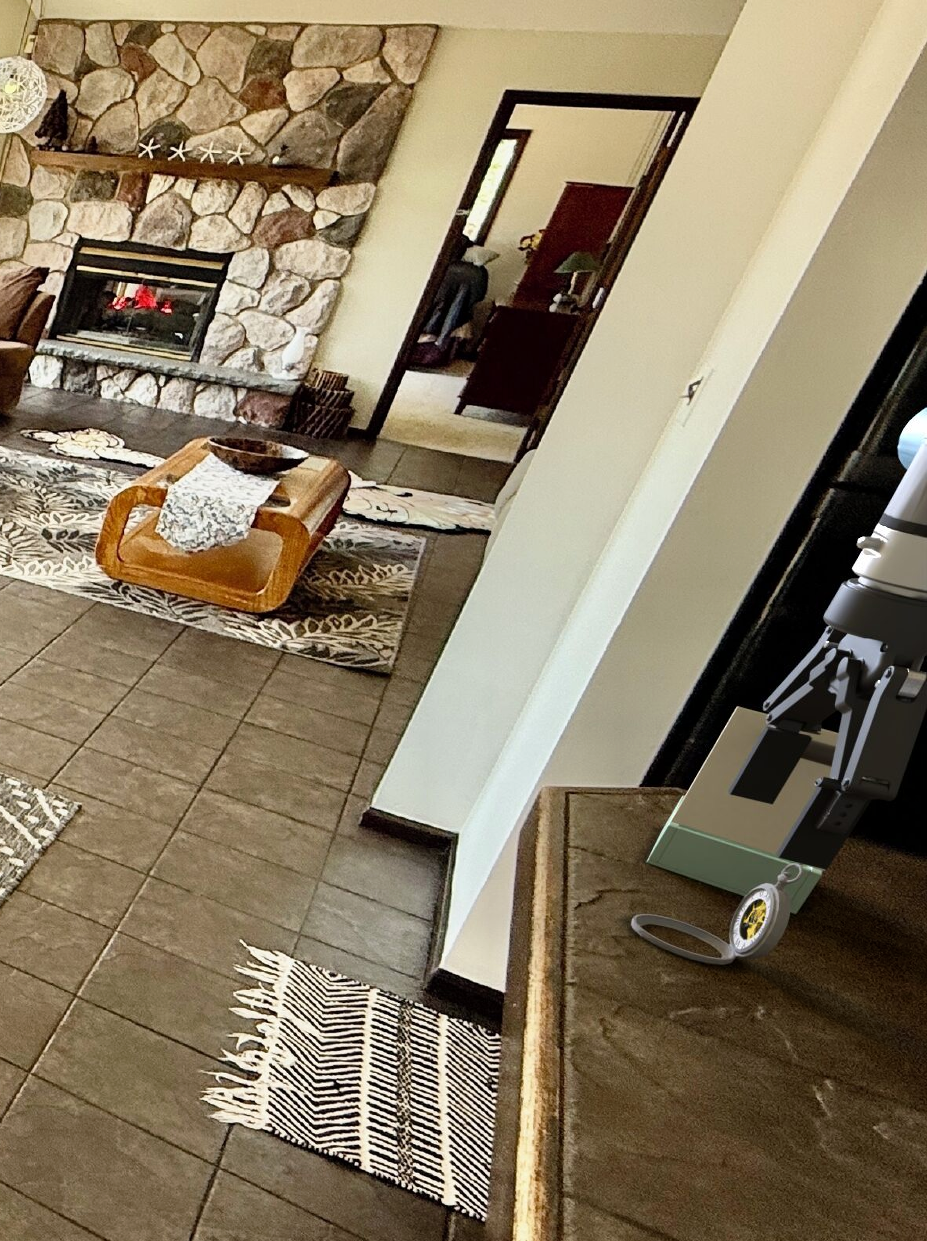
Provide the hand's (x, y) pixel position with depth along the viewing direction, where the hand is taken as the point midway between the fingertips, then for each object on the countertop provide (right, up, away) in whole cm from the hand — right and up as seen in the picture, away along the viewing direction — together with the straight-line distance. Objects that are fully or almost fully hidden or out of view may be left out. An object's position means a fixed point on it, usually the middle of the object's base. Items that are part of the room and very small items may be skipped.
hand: (773, 828), depth 98 cm
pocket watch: (-1, -12, +5) cm, 13 cm away
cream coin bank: (+14, +2, +12) cm, 19 cm away
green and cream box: (+17, -7, +19) cm, 26 cm away
